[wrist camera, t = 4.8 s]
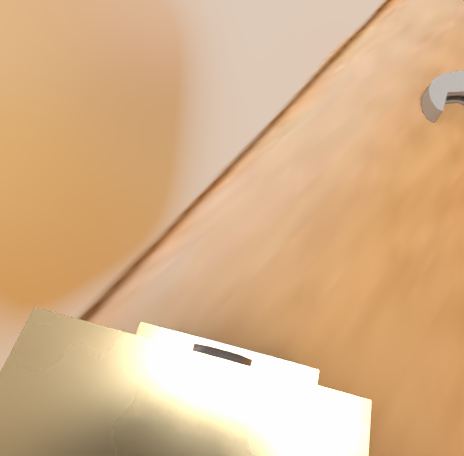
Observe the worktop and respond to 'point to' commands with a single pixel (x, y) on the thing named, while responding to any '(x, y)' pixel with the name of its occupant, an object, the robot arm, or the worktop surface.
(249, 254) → the worktop surface
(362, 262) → the worktop surface
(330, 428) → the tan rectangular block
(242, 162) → the worktop surface
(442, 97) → the adjustable wrench
